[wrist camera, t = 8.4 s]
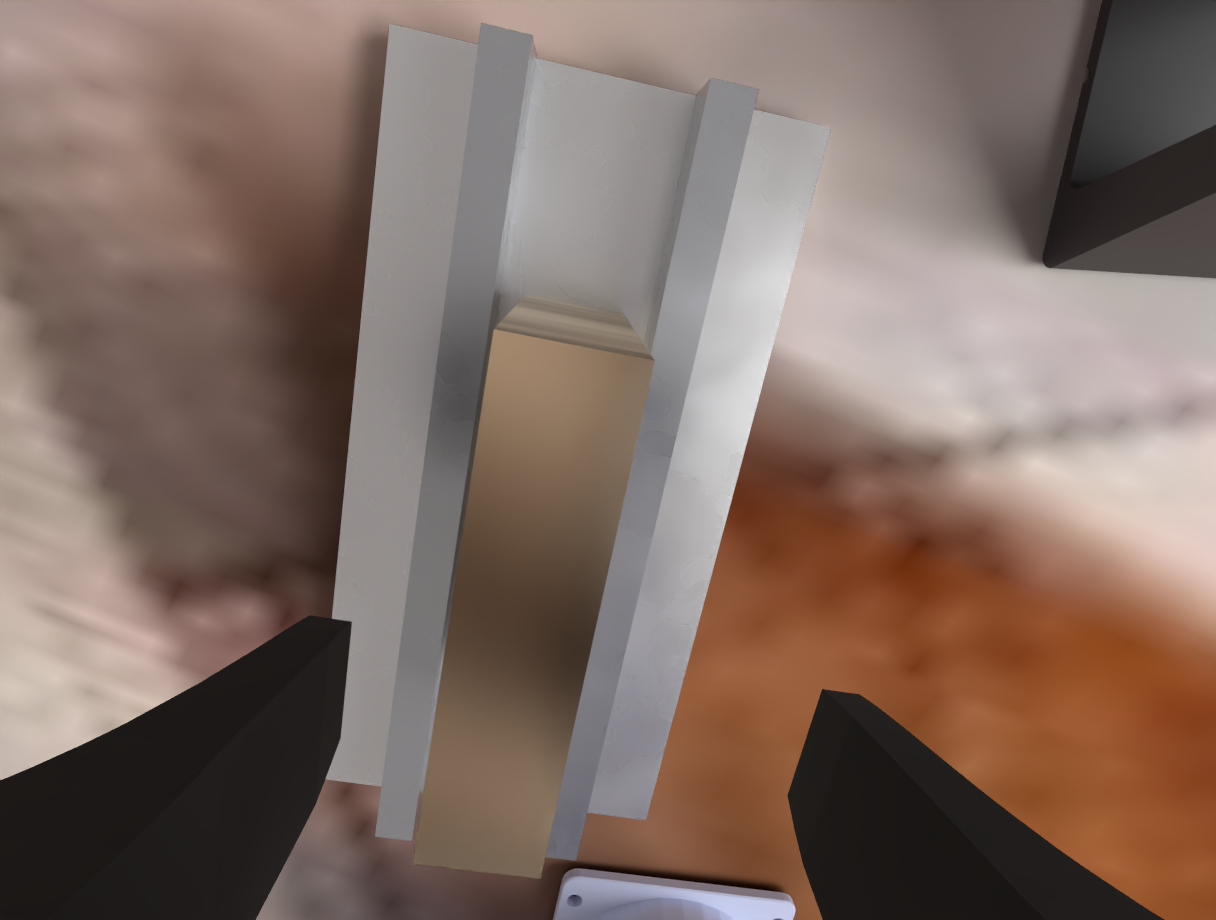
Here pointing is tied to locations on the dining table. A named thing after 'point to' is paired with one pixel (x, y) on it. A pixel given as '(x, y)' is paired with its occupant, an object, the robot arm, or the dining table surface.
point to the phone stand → (1143, 146)
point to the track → (459, 355)
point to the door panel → (529, 580)
